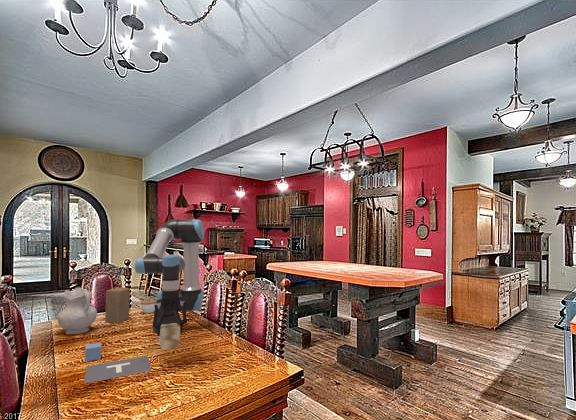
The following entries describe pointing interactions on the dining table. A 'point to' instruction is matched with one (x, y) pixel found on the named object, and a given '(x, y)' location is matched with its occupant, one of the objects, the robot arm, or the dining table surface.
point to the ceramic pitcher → (77, 312)
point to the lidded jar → (148, 306)
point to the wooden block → (117, 305)
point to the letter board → (117, 369)
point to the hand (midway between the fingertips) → (169, 341)
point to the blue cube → (93, 352)
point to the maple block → (170, 336)
